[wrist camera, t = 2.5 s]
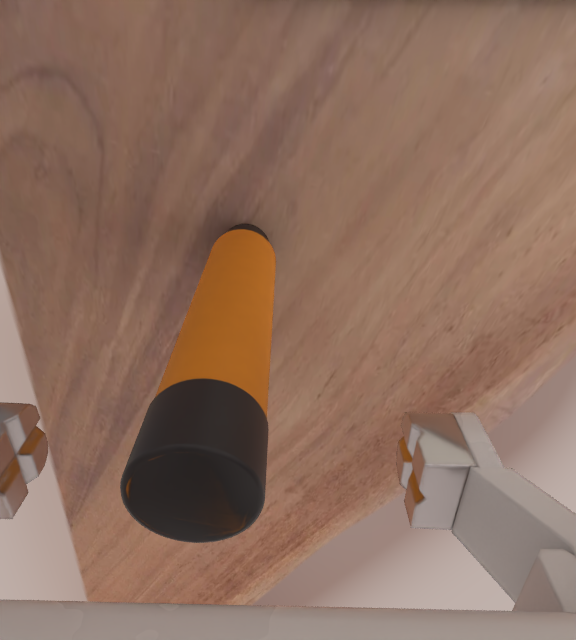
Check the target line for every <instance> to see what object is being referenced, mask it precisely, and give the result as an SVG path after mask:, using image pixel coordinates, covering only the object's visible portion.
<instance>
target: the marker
mask: <svg viewBox="0 0 576 640" xmlns="http://www.w3.org/2000/svg"><path fill="white" fill-rule="evenodd" d="M275 267H276V257H275V253H274V250H273V248H272V246H271V244H270V243H269V241H268V238H267V236H266V235H265V233H264V232H263V231H262V230H260V229H259V228H257V227H255V226H253V225H249V224H241V225H237V226H235V227H233V228H231V229H230V230H229V231H228V232H227V233H225V234H224V235H222V236H221V237H220V238H218V240H217V241H216V242H215V244H214V245H213V247H212V250H211V252H210V255H209V258H208V260H207V263H206V266H205V268H204V271H203V273H202V276H201V279H200V281H199V284H198V286H197V289H196V292H195V294H194V297H193V300H192V302H191V305H190V307H189V310H188V313H187V315H186V318H185V320H184V323H183V326H182V328H181V331H180V334H179V336H178V339H177V341H176V344H175V347H174V349H173V352H172V354H171V357H170V360H169V362H168V365H167V368H166V370H165V373H164V375H163V378H162V381H161V383H160V386H159V388H158V391H157V394H156V396H155V398H154V400H153V401H152V403H151V404H150V406H149V408H148V411H147V413H146V416H145V418H144V421H143V423H142V426H141V429H140V431H139V434H138V436H137V439H136V441H135V444H134V447H133V449H132V452H131V454H130V457H129V459H128V462H127V465H126V467H125V470H124V472H123V475H122V479H121V485H120V489H121V496H122V500H123V503H124V505H125V507H126V509H127V510H128V512H129V513H130V515H131V516H132V517H133V518H134V519H135V520H136V521H137V522H139V523H140V524H141V525H142V526H144V527H145V528H147V529H148V530H150V531H152V532H154V533H156V534H159V535H161V536H163V537H167V538H170V539H173V540H178V541H184V542H194V543H206V542H215V541H220V540H224V539H227V538H231V537H233V536H235V535H238V534H239V533H241V532H243V531H245V530H246V529H247V528H249V527H250V526H251V525H252V524H253V523H254V522H255V521H256V519H257V518H258V516H259V515H260V513H261V511H262V509H263V506H264V501H265V485H266V466H267V447H268V422H267V406H268V388H269V371H270V354H271V336H272V319H273V301H274V284H275Z"/></svg>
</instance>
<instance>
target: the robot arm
mask: <svg viewBox="0 0 576 640" xmlns="http://www.w3.org/2000/svg"><path fill="white" fill-rule="evenodd" d="M39 420H40V416H39V413H38V410H37V408H36V406H34V405H31V404H22V403H0V519H12V518H13V517H14V515H15V514H16V512H17V510H18V509H19V507H20V506H21V504H22V502H23V501H24V499H25V497H26V496H27V494H28V489H27V485H26V484H27V483H29V482H30V481H32V480H33V479H35V478H36V477H38V476H39V474H40V472H41V471H42V469H43V467H44V466H45V462H46V458H47V454H48V441H47V438H46V435H45V433H44V432H43V431H42V430H40V429H39V428H38V427H37V426H36V424H37V423H38V421H39ZM401 428H402V432H403V435H404V437H403V438H401V439H400V440H399V441H398V446H397V462H396V465H397V473H398V478H399V482H400V485H401V486H402V487H404V488H405V489H406V494H405V500H404V502H405V506H406V510H407V514H408V518H409V522H410V525H411V528H424V529H443V530H452V533H453V534H454V535H455V536H456V537H457V539H458V540H459V541H460V542H461V543H462V544H463V545H464V546H465V547H466V549H467V550H468V551H469V552H470V553H471V554H472V555H473V556H474V558H476V560H477V561H478V562H479V563H480V564H481V565H482V566H483V568H484V569H485V570H486V571H487V572H488V573H489V574H490V575H491V576H492V578H493V579H494V580H495V581H496V582H497V583H498V584H499V585H500V586H501V587H502V589H503V590H504V591H505V592H506V593H507V594H508V595H509V596H510V598H511V599H512V600H513V601H514V602H515V605H514V608H513V610H512V611H485V610H483V611H482V610H442V609H440V610H439V609H398V608H352V607H306V606H302V607H301V606H258V605H257V606H256V605H212V604H170V603H127V602H84V601H82V602H80V601H39V600H0V640H576V514H575V513H574V512H572V511H571V510H570V509H568V508H567V507H565V506H564V505H562V504H561V503H560V502H558V501H557V500H556V499H554V498H553V497H551V496H550V495H549V494H547V493H546V492H544V491H543V490H542V489H540V488H539V487H537V486H536V485H535V484H533V483H532V482H530V481H529V480H527V479H526V478H525V477H523V476H522V475H520V474H519V473H518V472H516V471H515V470H513V469H512V468H504V466H503V464H502V462H501V460H500V458H499V456H498V454H497V452H496V450H495V448H494V447H493V445H492V443H491V441H490V439H489V437H488V435H487V433H486V431H485V429H484V427H483V425H482V424H481V422H480V420H479V418H478V416H477V415H476V414H475V413H473V412H451V413H421V412H405V413H404V416H403V418H402V423H401Z"/></svg>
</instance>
